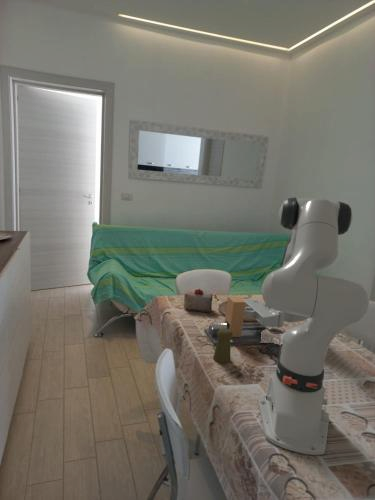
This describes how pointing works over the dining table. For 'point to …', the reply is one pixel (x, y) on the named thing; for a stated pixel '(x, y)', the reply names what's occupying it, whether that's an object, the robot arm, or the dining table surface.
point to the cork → (223, 346)
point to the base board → (240, 338)
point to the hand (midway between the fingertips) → (241, 311)
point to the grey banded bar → (216, 326)
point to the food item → (198, 301)
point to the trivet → (246, 318)
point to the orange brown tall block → (235, 315)
